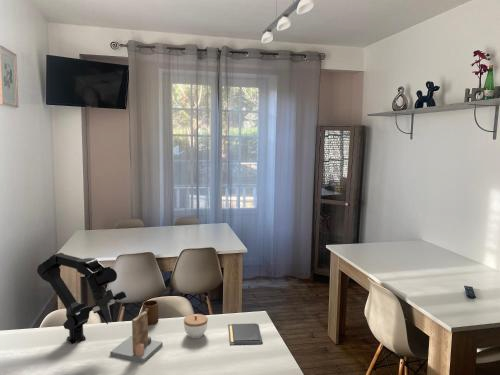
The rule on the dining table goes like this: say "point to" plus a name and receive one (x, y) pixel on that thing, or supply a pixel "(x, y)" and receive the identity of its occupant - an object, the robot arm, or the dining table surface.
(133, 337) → the brown wooden panel
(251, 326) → the grey book
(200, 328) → the lidded jar
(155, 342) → the board
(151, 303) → the mug
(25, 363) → the dining table surface
